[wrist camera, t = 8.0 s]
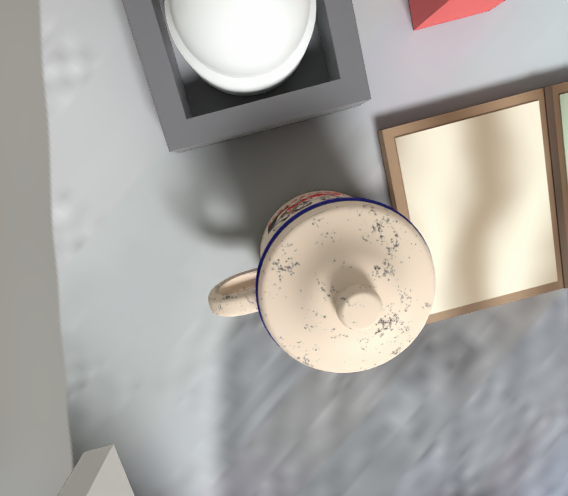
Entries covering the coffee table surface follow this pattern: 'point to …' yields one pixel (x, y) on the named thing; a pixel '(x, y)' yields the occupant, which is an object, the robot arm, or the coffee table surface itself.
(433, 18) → the red die
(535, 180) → the wooden picture frame
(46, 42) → the coffee table surface
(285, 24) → the dome button
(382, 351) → the teacup with lid
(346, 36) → the button bezel
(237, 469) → the coffee table surface
